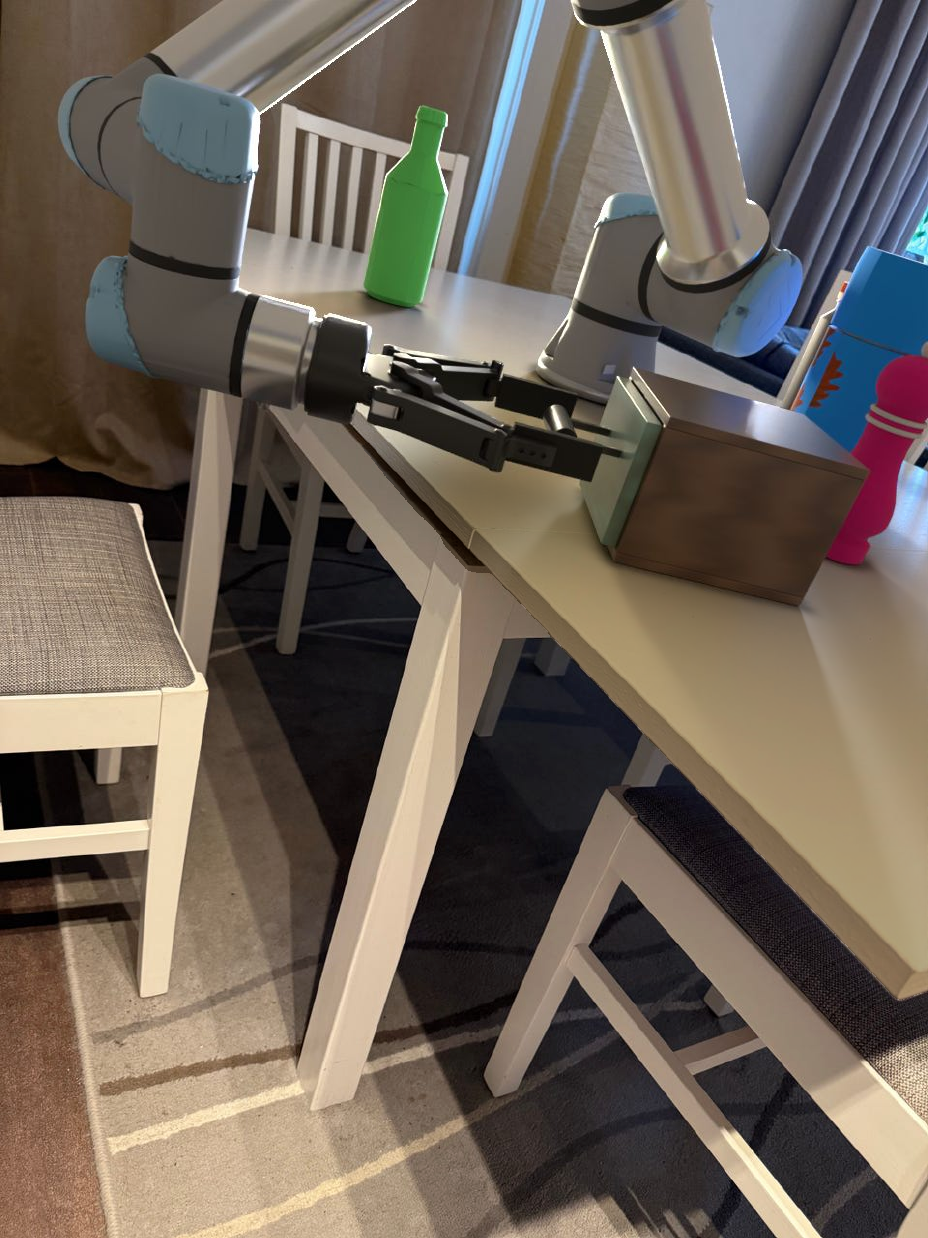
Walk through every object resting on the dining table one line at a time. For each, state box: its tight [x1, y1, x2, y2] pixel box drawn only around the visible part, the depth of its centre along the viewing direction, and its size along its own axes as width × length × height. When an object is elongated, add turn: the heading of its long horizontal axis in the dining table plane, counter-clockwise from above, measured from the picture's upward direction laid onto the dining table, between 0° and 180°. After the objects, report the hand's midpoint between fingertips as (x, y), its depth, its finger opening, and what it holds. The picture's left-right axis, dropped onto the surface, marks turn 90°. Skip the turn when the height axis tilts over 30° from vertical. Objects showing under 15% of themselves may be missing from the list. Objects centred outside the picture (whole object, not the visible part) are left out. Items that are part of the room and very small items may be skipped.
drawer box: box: [606, 367, 870, 607], centre depth 72 cm, size 16×14×12 cm
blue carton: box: [790, 245, 928, 453], centre depth 94 cm, size 11×11×25 cm
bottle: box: [363, 105, 449, 308], centre depth 124 cm, size 9×9×25 cm
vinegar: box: [779, 281, 849, 410], centre depth 125 cm, size 7×7×20 cm
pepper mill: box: [825, 342, 928, 566], centre depth 80 cm, size 7×7×20 cm
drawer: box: [542, 376, 664, 547], centre depth 71 cm, size 20×12×10 cm, turn 91°
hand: (584, 434), depth 70 cm, fingers open, 12 cm apart
